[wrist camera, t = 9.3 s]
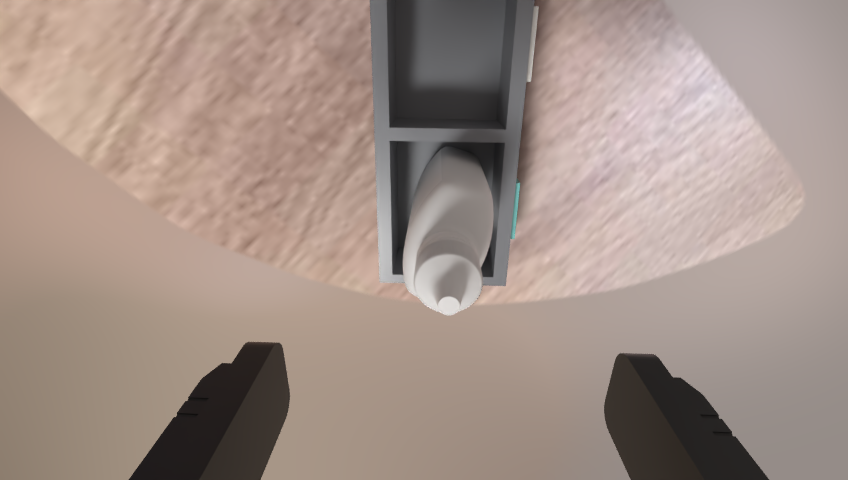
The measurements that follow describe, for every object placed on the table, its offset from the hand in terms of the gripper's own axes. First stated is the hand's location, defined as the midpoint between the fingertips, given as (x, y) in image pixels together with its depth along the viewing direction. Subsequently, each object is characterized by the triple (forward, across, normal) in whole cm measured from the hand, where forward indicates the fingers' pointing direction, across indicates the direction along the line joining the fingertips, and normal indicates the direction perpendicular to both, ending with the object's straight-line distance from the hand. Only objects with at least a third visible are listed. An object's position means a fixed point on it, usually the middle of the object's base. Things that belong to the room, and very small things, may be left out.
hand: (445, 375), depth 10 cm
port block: (+17, 0, -4) cm, 17 cm away
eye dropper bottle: (+15, 0, 0) cm, 16 cm away
